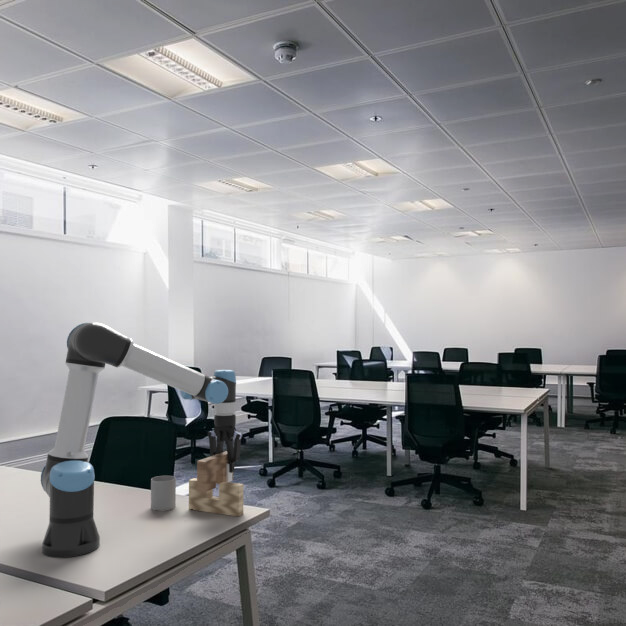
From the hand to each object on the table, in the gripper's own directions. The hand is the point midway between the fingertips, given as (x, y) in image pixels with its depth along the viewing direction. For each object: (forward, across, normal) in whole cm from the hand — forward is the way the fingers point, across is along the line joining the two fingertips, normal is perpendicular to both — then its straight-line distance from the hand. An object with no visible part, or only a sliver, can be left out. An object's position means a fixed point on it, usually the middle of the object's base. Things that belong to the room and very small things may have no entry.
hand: (224, 480), depth 207 cm
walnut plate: (0, 0, +6) cm, 6 cm away
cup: (+9, +20, +9) cm, 23 cm away
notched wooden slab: (+9, 0, +6) cm, 11 cm away
